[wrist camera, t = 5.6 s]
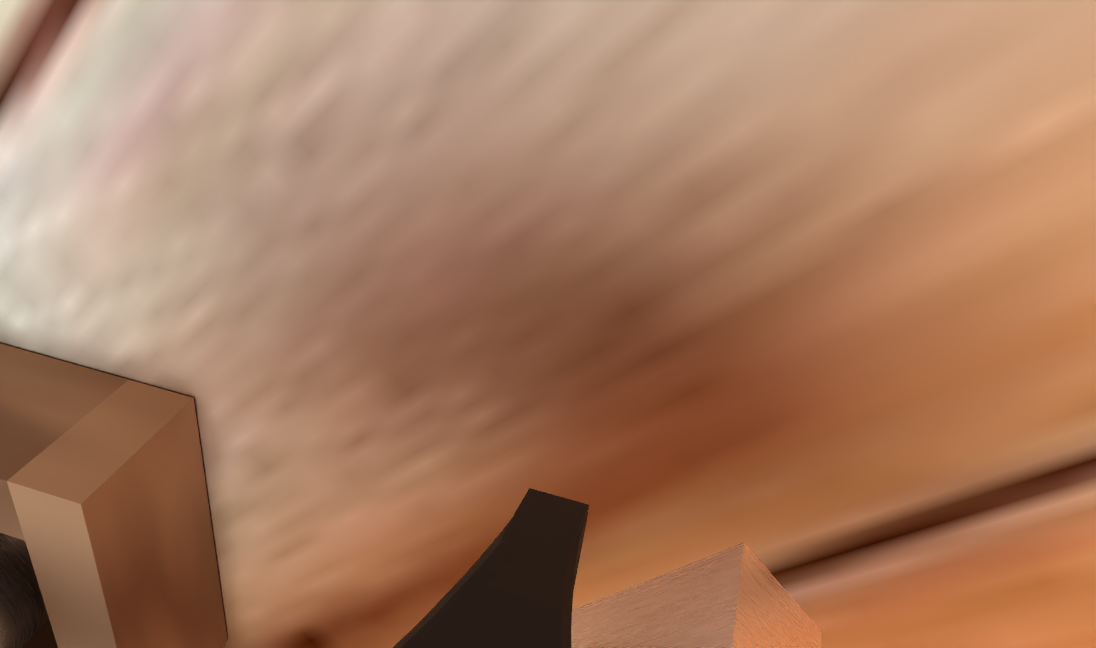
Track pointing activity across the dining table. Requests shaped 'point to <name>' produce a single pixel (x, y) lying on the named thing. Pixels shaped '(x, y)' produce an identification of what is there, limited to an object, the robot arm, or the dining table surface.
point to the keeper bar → (699, 610)
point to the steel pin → (18, 594)
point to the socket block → (108, 506)
